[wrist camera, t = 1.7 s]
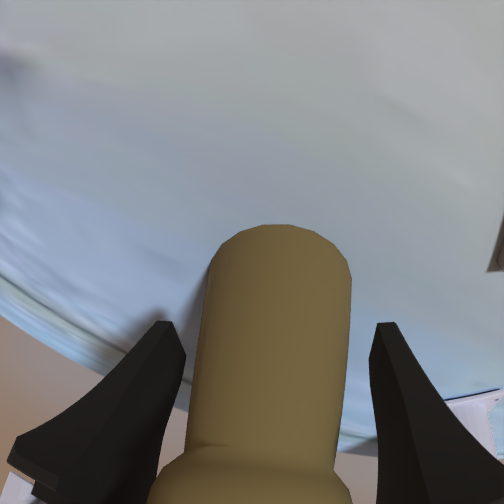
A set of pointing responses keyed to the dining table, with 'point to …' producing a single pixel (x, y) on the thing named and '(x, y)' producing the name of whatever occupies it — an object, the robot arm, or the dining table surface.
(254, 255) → the cork
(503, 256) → the slate coaster
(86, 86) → the dining table surface
